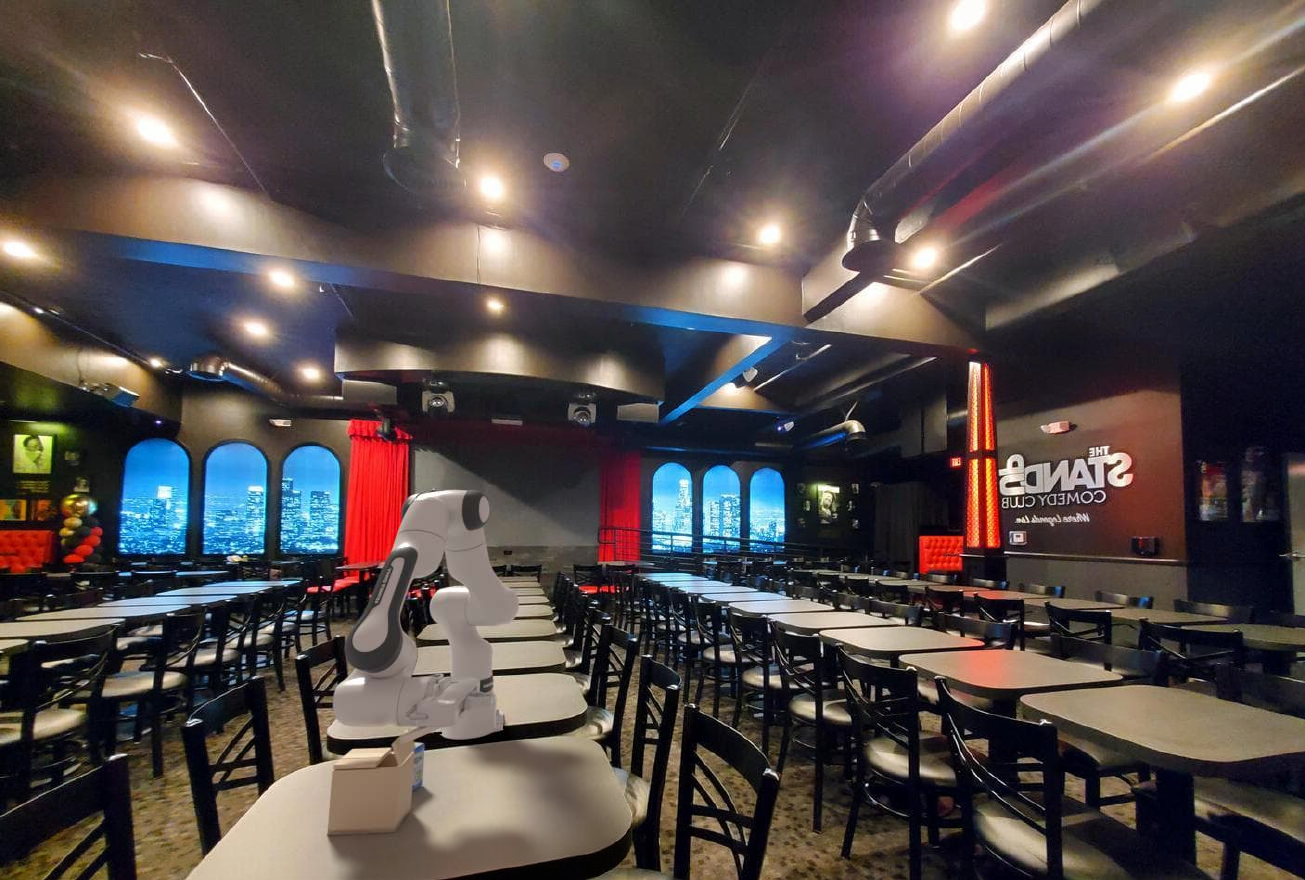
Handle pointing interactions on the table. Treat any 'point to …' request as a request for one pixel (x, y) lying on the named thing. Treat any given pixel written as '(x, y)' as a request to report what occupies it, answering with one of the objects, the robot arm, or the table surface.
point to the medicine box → (418, 766)
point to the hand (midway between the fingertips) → (492, 699)
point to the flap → (410, 741)
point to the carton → (370, 792)
